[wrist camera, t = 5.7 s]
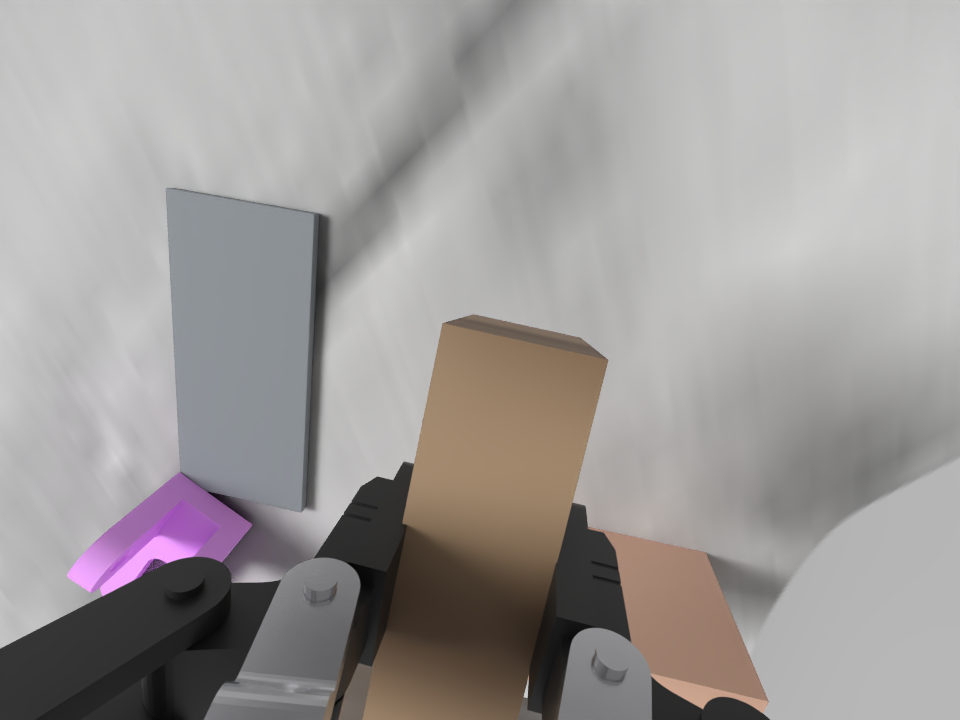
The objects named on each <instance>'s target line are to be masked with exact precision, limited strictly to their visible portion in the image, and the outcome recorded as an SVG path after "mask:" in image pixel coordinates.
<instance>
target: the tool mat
mask: <svg viewBox="0 0 960 720" xmlns="http://www.w3.org/2000/svg"><path fill="white" fill-rule="evenodd" d="M166 203H167V222H168V241H169V261H170V280H171V300H172V319H173V338H174V358H175V377H176V396H177V416H178V435H179V454H180V473H182V474H183V475H184V476H186V477H187V478H188V479H190V480H191V481H193V482H194V483H195V484H197V485H198V486H200V487H201V488H202V489H204V490H205V491H208V492H213V493H217V494H222V495H226V496H230V497H235V498H239V499H244V500H248V501H252V502H257V503H261V504H266V505H270V506H274V507H279V508H283V509H288V510H292V511H296V512H302V511H303V510H304V508H305V507H306V490H307V468H308V447H309V425H310V404H311V382H312V361H313V340H314V318H315V297H316V275H317V254H318V233H319V214H318V213H312V212H306V211H301V210H295V209H289V208H284V207H278V206H272V205H267V204H261V203H255V202H249V201H244V200H238V199H232V198H227V197H221V196H215V195H210V194H204V193H198V192H193V191H187V190H181V189H176V188H166Z"/></svg>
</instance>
